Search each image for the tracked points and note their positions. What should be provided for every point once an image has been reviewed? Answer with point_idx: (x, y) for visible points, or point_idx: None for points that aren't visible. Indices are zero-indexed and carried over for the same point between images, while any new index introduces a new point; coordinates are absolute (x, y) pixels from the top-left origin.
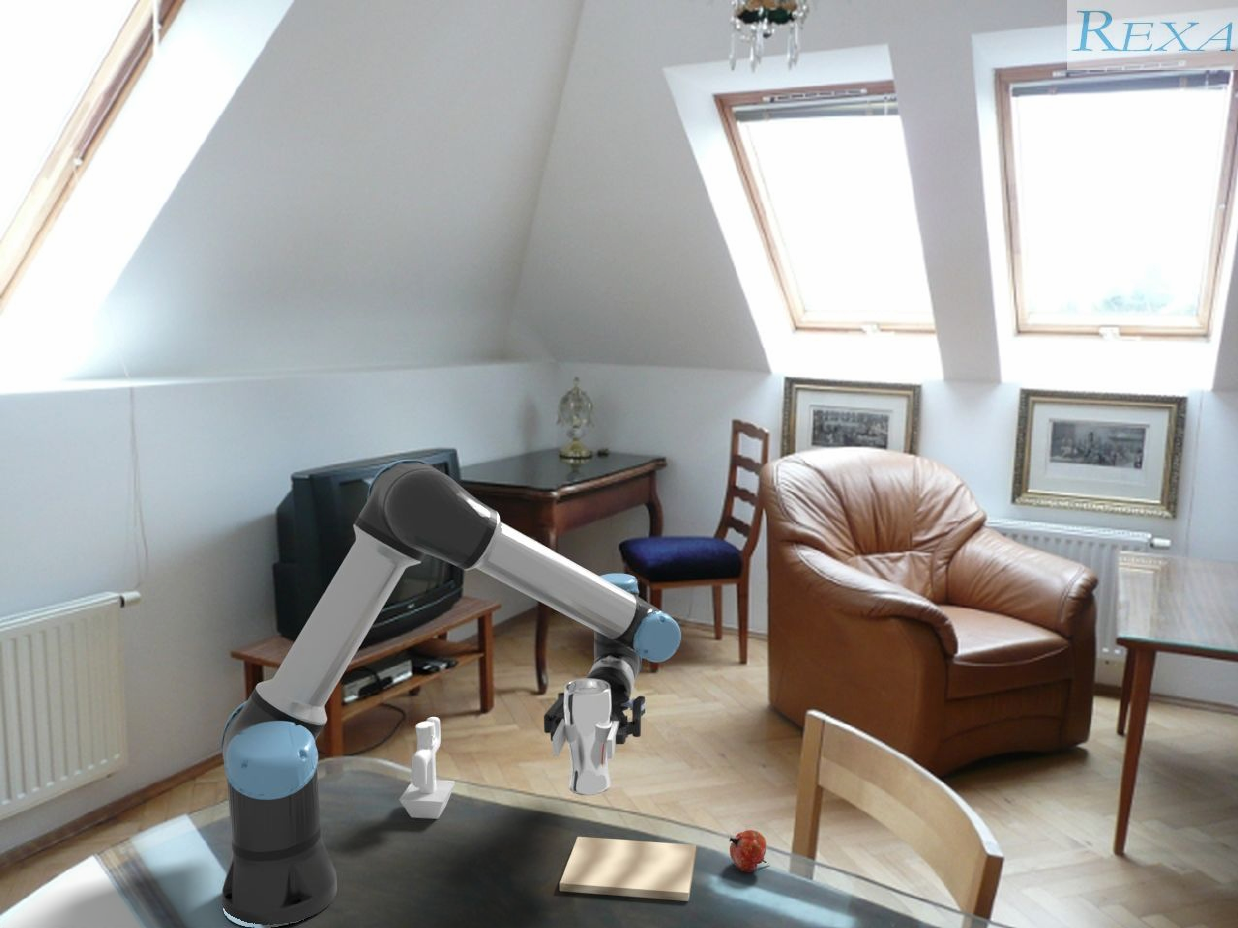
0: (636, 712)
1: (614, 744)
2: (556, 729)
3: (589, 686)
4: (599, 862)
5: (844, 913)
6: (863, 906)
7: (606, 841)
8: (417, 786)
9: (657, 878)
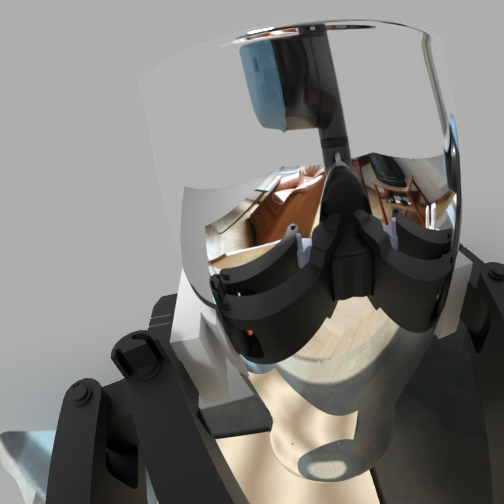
0: (69, 492)
1: None
2: None
3: (381, 106)
4: (313, 483)
5: (30, 437)
6: (15, 446)
7: None
8: None
9: None
